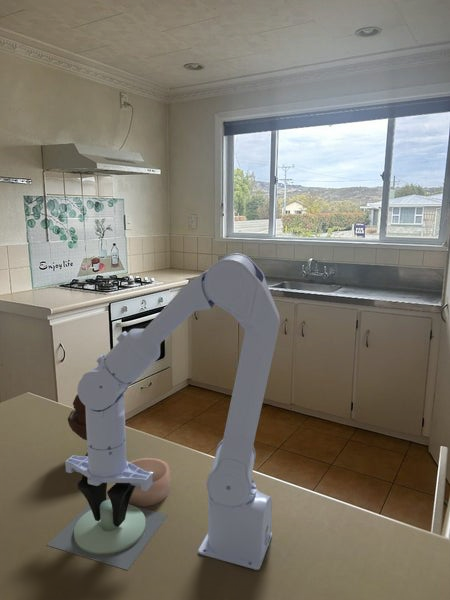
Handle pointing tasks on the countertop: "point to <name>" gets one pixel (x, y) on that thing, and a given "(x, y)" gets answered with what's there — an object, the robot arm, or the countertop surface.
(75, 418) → the ice cream bowl
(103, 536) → the lid
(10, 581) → the countertop surface
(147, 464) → the dish
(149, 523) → the placemat
